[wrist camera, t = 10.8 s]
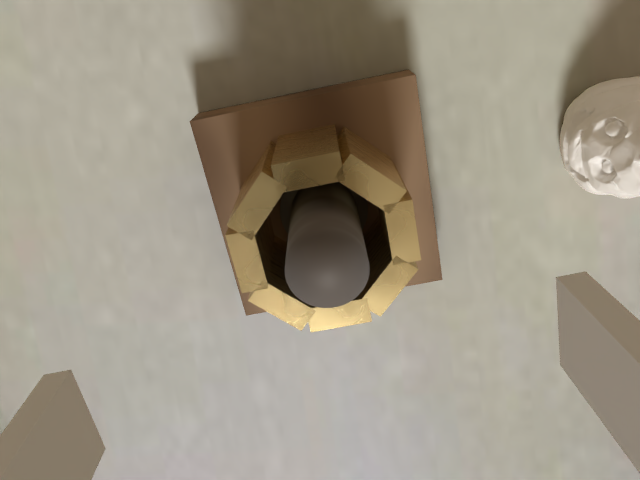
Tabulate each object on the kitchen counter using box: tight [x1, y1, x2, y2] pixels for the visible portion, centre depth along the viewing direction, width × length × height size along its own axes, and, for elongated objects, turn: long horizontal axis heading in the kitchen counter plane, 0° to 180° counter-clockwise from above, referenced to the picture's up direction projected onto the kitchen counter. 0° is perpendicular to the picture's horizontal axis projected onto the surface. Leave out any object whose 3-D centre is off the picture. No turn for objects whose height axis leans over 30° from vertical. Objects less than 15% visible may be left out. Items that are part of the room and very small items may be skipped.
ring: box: [225, 124, 421, 332], centre depth 24 cm, size 7×7×5 cm
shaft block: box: [190, 70, 442, 315], centre depth 24 cm, size 10×10×9 cm
